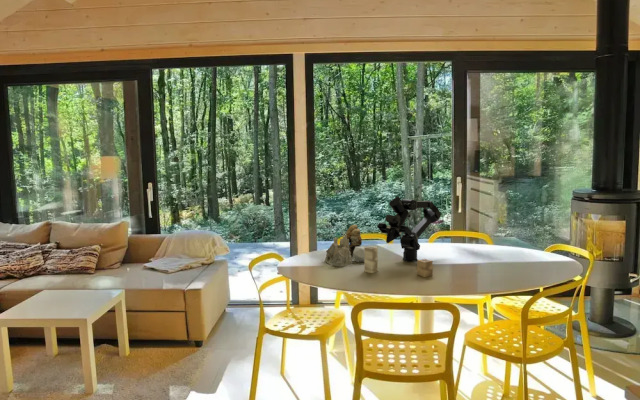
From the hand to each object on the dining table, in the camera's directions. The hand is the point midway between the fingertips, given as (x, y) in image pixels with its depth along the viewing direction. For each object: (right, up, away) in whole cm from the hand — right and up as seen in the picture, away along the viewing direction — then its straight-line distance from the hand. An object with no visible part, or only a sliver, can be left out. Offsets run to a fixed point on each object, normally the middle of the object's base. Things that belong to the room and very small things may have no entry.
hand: (387, 242), depth 230 cm
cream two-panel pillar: (-9, -13, -7) cm, 18 cm away
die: (-12, -12, +15) cm, 22 cm away
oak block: (+16, -14, -15) cm, 26 cm away
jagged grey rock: (-25, -12, +13) cm, 30 cm away
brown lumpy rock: (-13, -10, +33) cm, 37 cm away
